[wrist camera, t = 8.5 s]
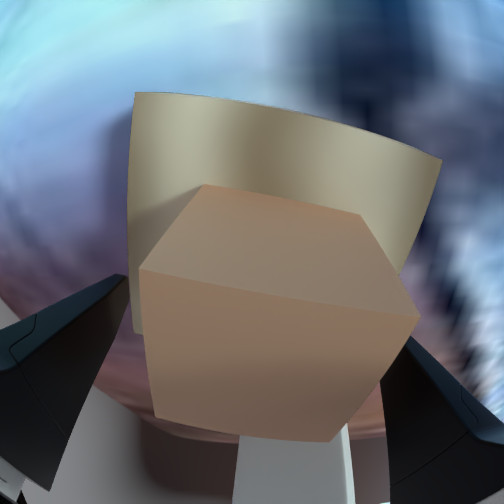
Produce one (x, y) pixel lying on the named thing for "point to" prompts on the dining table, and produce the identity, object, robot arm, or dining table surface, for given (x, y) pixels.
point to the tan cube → (268, 316)
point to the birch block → (266, 169)
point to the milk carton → (294, 471)
